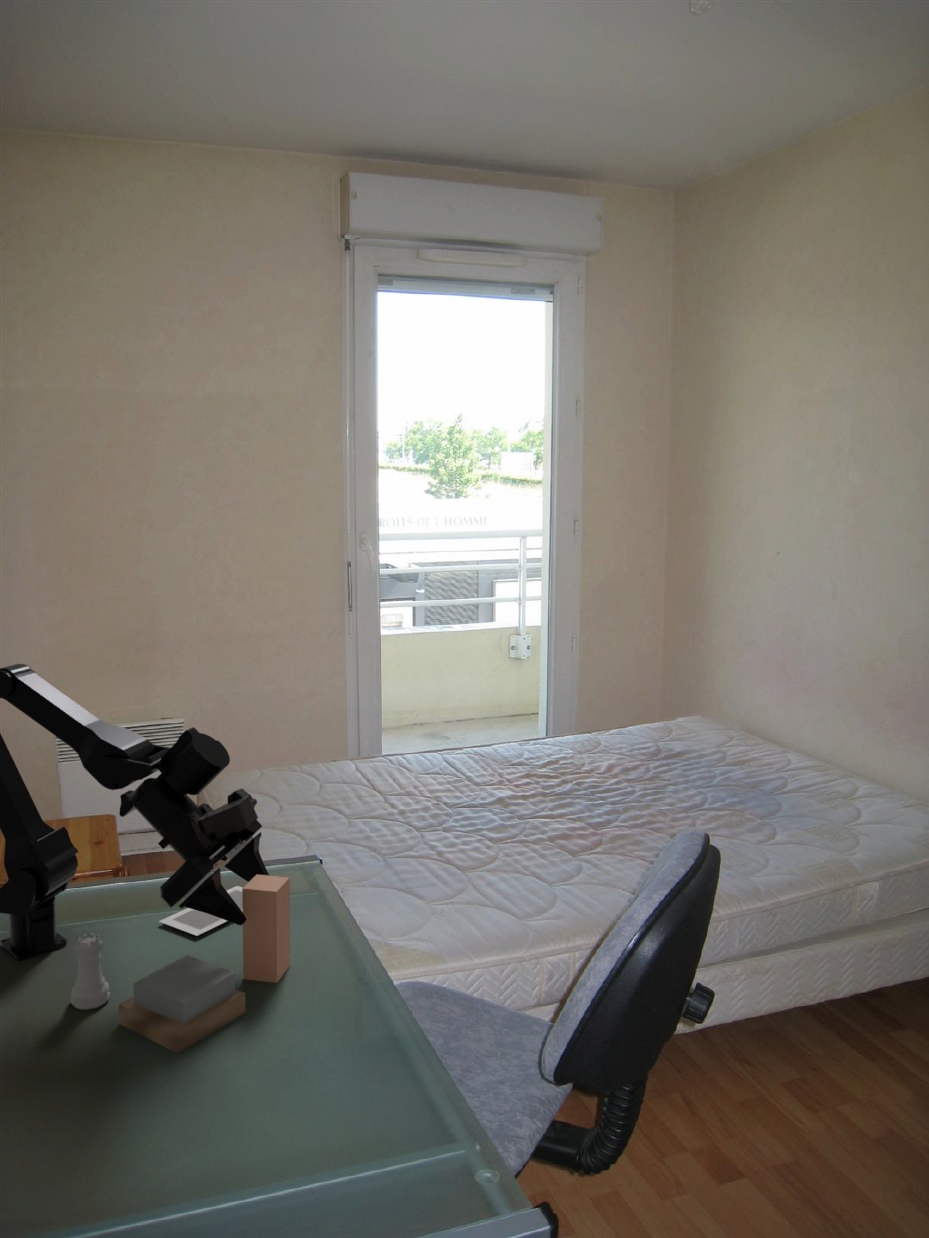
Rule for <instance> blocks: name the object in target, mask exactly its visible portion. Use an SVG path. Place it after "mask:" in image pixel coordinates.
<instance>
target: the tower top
mask: <svg viewBox="0 0 929 1238" xmlns="http://www.w3.org/2000/svg"><path fill="white" fill-rule="evenodd" d="M235 989H236V972H235V971H232V970H229V969H227V968H224V967H221V966H218V965H216V964H212V963H210V962H207V961H205V960H201V959H199V958H196V957H193V956H191V955H188V954H186V955H185V956H182V957H181V958H179V959H177V960H175V961H173V962H171V963H169V964H167V965H165V966H163V967H162V968H160V969H157V970H156V971H154V972H152V973H150V974H148V975H147V976H144V977H143V978H141V979H139V980H137V981H135V982H133V997H134V1004H136V1005H138V1006H140V1007H143V1008H145V1009H148V1010H150V1011H152V1012H155V1013H157V1014H160V1015H162V1016H164V1017H167V1018H169V1019H172V1020H174V1021H176V1022H179V1023H181V1024H185V1023H186V1022H188V1021H190V1020H191V1019H193V1018H195V1017H196V1016H198V1015H200V1014H201V1013H203V1012H204V1011H206V1010H208V1009H209V1008H211V1007H213V1006H214V1005H216V1004H218V1003H219V1002H221V1001H222V1000H224V999H226V998H227V997H229V996H231V995H232V994H234V993H235Z"/></svg>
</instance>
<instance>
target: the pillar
mask: <svg viewBox="0 0 929 1238" xmlns="http://www.w3.org/2000/svg"><path fill="white" fill-rule="evenodd" d="M290 878H291V877H286V876H279V875H278V876H277V875H269V876H268V875H256V876H255V877H254V878H253V879H252V880H251V881H249V882H247V883H246V884H245V885H244V886H243V887H242V901H243V914H244V915H245V917H246V918H247V920H246V922H244V923H243V924H242V969H243V970H242V978H243V980H247V981H255V982H256V981H257V982H265V983H273V984H277V983H278V982H279V981H280V980H281V979H282V978H283V976H284V975H285V973H286V972H287V970H288V969H289V968H290V967H291V905H290V904H291V901H290V900H291V898H290V897H291V893H290V892H291V891H290V890H291V889H290V887H291V884H290V883H291V879H290Z"/></svg>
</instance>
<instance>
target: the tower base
mask: <svg viewBox="0 0 929 1238" xmlns="http://www.w3.org/2000/svg"><path fill="white" fill-rule="evenodd" d="M246 1006H247V1005H246V992H244V991H242V990H239V989H237V988H235V993H234V994H232V995H231V996H229V997H227V998H226V999H224V1000H222V1001H221V1002H219V1003H218V1004H216V1005H214V1006H213V1007H211V1008H209V1009H208V1010H206V1011H204V1012H203V1013H201V1014H200V1015H198V1016H196V1017H195V1018H193V1019H191V1020H190V1021H188V1022H186V1023H185V1024H181V1023H179V1022H176V1021H174V1020H172V1019H169V1018H167V1017H164V1016H162V1015H160V1014H157V1013H155V1012H152V1011H150V1010H148V1009H145V1008H143V1007H140V1006H138V1005H136V1004H134V996H132V997H130V998H128V999H125V1000H124V1001H123V1002H120V1003H119V1004H118V1019H119V1025H120V1026H122V1027H124V1028H126V1029H129V1030H130V1031H133V1032H134V1033H136V1034H139V1035H141V1036H142V1037H144V1038H146V1039H149V1040H150V1041H152V1042H154V1043H156V1044H159V1045H161V1046H163V1047H164V1048H166V1049H169V1050H170V1051H172V1052H173V1053H176V1054H179V1053H181V1052H183V1051H184V1050H185V1049H187V1048H189V1047H191V1046H192V1045H194V1044H196V1043H197V1042H199V1041H201V1040H202V1039H204V1038H206V1037H207V1036H209V1035H211V1034H212V1033H214V1032H215V1031H217V1030H219V1029H220V1028H222V1027H224V1026H226V1025H228V1024H229V1023H231V1022H233V1021H234V1020H236V1019H237V1018H239V1017H241V1016H242V1015H245V1014H246V1013H247V1012H246V1008H247V1007H246Z"/></svg>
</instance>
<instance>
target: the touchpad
mask: <svg viewBox="0 0 929 1238" xmlns="http://www.w3.org/2000/svg"><path fill="white" fill-rule="evenodd" d="M242 888H243V887H242V886H239V885H236V886H234V887H231V888H230V889H227V890H226V891H227V892H228V894H229V895H230V896H231V898H232V899H233V900H234V901H235V903H236V904H237V905H238V907H239V908H240V909H241V911H242V912H243V901H242ZM158 922H159V923H161V924H164V925H167V926H169V927H172V928H175V929H177V930H180V931H183V932H185V933H188V934H191V935H194V936H196V937H198V936H200V935H202V934H205V932H209V931H210V930H212V929H214V928H217V927H218V926H220V925H222V924H224V923H226V922H227V923H228V921H227V920H224V919H221V918H218V917H216V916H213V915H210V914H207V913H204V912H201V911H197V910H194V909H190V908H187V907H186V908H185V909H183V910H181V911H179V912H176V913H174V914H172V915H169V916H167V917H165V918H163V919H160V920H159V921H158Z"/></svg>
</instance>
